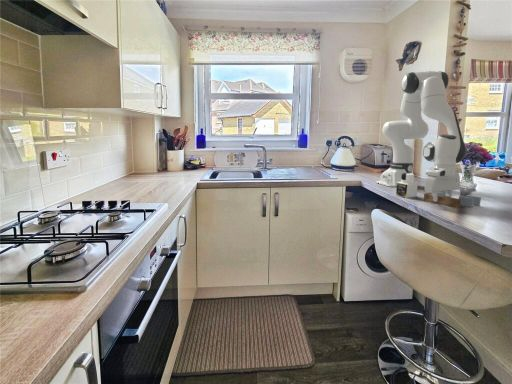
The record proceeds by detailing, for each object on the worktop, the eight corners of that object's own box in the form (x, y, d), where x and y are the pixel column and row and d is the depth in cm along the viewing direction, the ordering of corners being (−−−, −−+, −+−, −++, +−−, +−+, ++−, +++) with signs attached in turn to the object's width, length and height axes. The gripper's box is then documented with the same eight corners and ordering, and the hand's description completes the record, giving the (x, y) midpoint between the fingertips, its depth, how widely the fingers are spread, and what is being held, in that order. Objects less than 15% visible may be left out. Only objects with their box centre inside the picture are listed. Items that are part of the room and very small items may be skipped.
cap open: (458, 204, 154) (459, 196, 153) (466, 203, 156) (467, 195, 156) (471, 207, 148) (472, 198, 148) (480, 206, 151) (481, 197, 150)
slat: (423, 201, 162) (424, 193, 161) (427, 201, 163) (428, 193, 162) (455, 208, 147) (456, 199, 147) (459, 208, 149) (460, 199, 148)
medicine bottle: (395, 195, 175) (397, 172, 173) (406, 194, 178) (408, 172, 175) (406, 198, 169) (408, 174, 166) (416, 197, 171) (419, 173, 169)
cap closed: (428, 198, 167) (429, 190, 166) (436, 197, 170) (437, 189, 169) (442, 201, 160) (443, 193, 160) (450, 200, 163) (451, 192, 163)
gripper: (452, 168, 159) (449, 197, 162) (423, 171, 151) (420, 201, 153) (465, 170, 154) (461, 199, 157) (436, 173, 145) (433, 204, 148)
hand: (441, 200), depth 155 cm, fingers open, 6 cm apart
